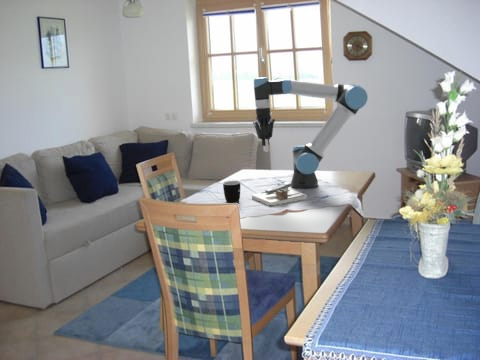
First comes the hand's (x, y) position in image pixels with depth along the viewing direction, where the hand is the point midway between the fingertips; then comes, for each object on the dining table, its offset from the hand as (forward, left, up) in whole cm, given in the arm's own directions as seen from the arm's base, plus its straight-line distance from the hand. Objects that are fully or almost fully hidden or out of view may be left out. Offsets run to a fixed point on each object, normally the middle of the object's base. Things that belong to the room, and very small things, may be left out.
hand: (266, 151), depth 301 cm
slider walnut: (+4, +20, -21) cm, 29 cm away
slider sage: (-6, +6, -21) cm, 23 cm away
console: (+1, +13, -23) cm, 27 cm away
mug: (+22, 0, -24) cm, 32 cm away
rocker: (+1, +12, -18) cm, 22 cm away
